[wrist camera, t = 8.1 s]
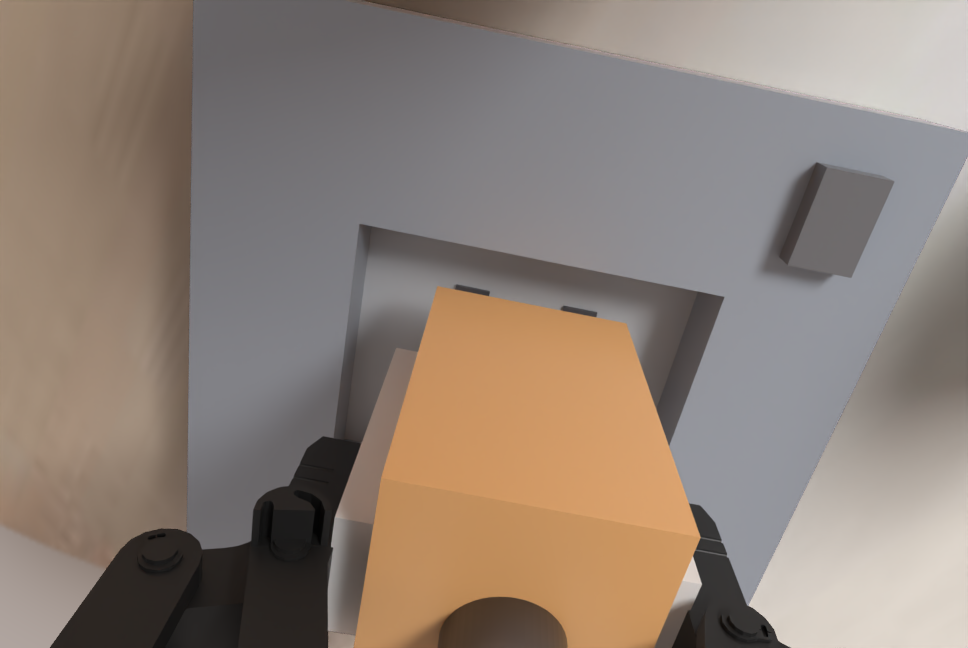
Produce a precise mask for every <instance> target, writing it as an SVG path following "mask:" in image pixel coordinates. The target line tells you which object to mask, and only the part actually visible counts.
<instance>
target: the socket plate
mask: <svg viewBox="0 0 968 648" xmlns="http://www.w3.org/2000/svg"><path fill="white" fill-rule="evenodd" d="M967 157H968V132H966V131H962V130H958V129H955V128H951V127H948V126H944V125H940V124H937V123H933V122H929V121H926V120H922V119H918V118H913V117H908V116H904V115H899V114H894V113H890V112H885V111H880V110H875V109H871V108H866V107H861V106H857V105H852V104H847V103H842V102H838V101H833V100H828V99H824V98H819V97H814V96H809V95H805V94H800V93H795V92H791V91H786V90H781V89H776V88H772V87H767V86H762V85H758V84H753V83H748V82H744V81H739V80H734V79H729V78H725V77H720V76H715V75H711V74H706V73H701V72H696V71H692V70H687V69H682V68H678V67H673V66H668V65H663V64H659V63H654V62H649V61H645V60H640V59H635V58H630V57H626V56H621V55H616V54H612V53H607V52H602V51H598V50H593V49H588V48H583V47H579V46H574V45H569V44H565V43H560V42H555V41H550V40H546V39H541V38H536V37H532V36H527V35H522V34H517V33H513V32H508V31H503V30H499V29H494V28H489V27H485V26H480V25H475V24H470V23H466V22H461V21H456V20H452V19H447V18H442V17H437V16H433V15H428V14H423V13H419V12H414V11H409V10H404V9H400V8H395V7H390V6H386V5H381V4H376V3H371V2H367V1H362V0H193V68H192V149H191V230H190V311H189V392H188V474H187V533H190V534H192V535H193V536H194V537H195V538H196V539H197V540H198V541H199V542H200V545H201V548H202V549H215V548H227V547H234V546H238V545H242V544H245V543H248V542H250V541H251V534H252V519H253V509H254V507H255V504H256V502H257V500H258V499H259V498H260V497H262V496H263V495H264V494H265V493H266V492H268V491H271V490H273V489H276V488H278V487H284V486H289V484H290V482H291V480H292V479H293V477H294V474H295V472H296V470H297V468H298V466H299V465H300V462H301V460H302V457H303V455H304V453H305V451H306V449H307V448H308V447H309V446H310V445H312V444H313V443H314V442H316V441H317V440H318V439H320V438H321V437H322V436H325V437H330V438H335V439H341V440H346V441H351V442H357V443H362V441H363V438H364V435H365V432H366V430H367V427H368V424H369V421H370V419H371V416H372V413H373V410H374V408H375V405H376V402H377V399H378V397H379V394H380V391H381V388H382V386H383V383H384V380H385V377H386V375H387V372H388V369H389V366H390V364H391V361H392V358H393V355H394V352H395V350H396V348H400V349H405V350H411V351H416V352H418V350H419V347H420V344H421V340H422V337H423V333H424V330H425V327H426V323H427V320H428V316H429V313H430V310H431V306H432V303H433V299H434V296H435V293H436V289H437V286H440V287H445V288H450V289H455V290H460V291H465V292H470V293H475V294H480V295H485V296H490V297H495V298H500V299H505V300H510V301H516V302H521V303H526V304H531V305H536V306H541V307H546V308H551V309H556V310H561V311H566V312H571V313H576V314H581V315H586V316H591V317H597V318H602V319H607V320H612V321H617V322H622V323H626V324H627V327H628V330H629V333H630V335H631V338H632V341H633V344H634V347H635V350H636V353H637V356H638V358H639V361H640V364H641V367H642V370H643V373H644V376H645V379H646V381H647V384H648V387H649V390H650V393H651V396H652V399H653V402H654V405H655V407H656V410H657V413H658V416H659V419H660V422H661V425H662V428H663V430H664V433H665V436H666V439H667V442H668V445H669V448H670V451H671V453H672V456H673V459H674V462H675V465H676V468H677V471H678V474H679V477H680V479H681V482H682V485H683V488H684V491H685V494H686V497H687V500H688V502H689V503H690V504H696V505H700V506H701V507H702V508H703V509H704V510H705V511H706V512H707V514H708V515H709V516H710V517H711V518H712V519H713V521H714V522H715V523H716V526H717V529H718V531H719V534H720V536H721V539H722V541H721V543H723V544H724V547H725V549H726V552H727V557H728V558H729V560H730V562H731V565H732V568H733V570H734V573H735V575H736V578H737V580H738V583H739V586H740V588H741V591H742V593H743V596H744V599H745V601H746V604H747V606H748V605H749V603H750V601H751V599H752V597H753V595H754V593H755V591H756V589H757V587H758V585H759V583H760V581H761V579H762V576H763V574H764V572H765V570H766V568H767V566H768V564H769V562H770V560H771V558H772V556H773V554H774V552H775V550H776V548H777V546H778V544H779V542H780V540H781V538H782V536H783V533H784V531H785V529H786V527H787V525H788V523H789V521H790V519H791V517H792V515H793V513H794V511H795V509H796V507H797V505H798V503H799V501H800V499H801V497H802V495H803V493H804V490H805V488H806V486H807V484H808V482H809V480H810V478H811V476H812V474H813V472H814V470H815V468H816V466H817V464H818V462H819V460H820V458H821V456H822V454H823V452H824V450H825V447H826V445H827V443H828V441H829V439H830V437H831V435H832V433H833V431H834V429H835V427H836V425H837V423H838V421H839V419H840V417H841V415H842V413H843V411H844V409H845V406H846V404H847V402H848V400H849V398H850V396H851V394H852V392H853V390H854V388H855V386H856V384H857V382H858V380H859V378H860V376H861V374H862V372H863V370H864V368H865V366H866V363H867V361H868V359H869V357H870V355H871V353H872V351H873V349H874V347H875V345H876V343H877V341H878V339H879V337H880V335H881V333H882V331H883V329H884V327H885V325H886V323H887V320H888V318H889V316H890V314H891V312H892V310H893V308H894V306H895V304H896V302H897V300H898V298H899V296H900V294H901V292H902V290H903V288H904V286H905V284H906V282H907V280H908V277H909V275H910V273H911V271H912V269H913V267H914V265H915V263H916V261H917V259H918V257H919V255H920V253H921V251H922V249H923V247H924V245H925V243H926V241H927V239H928V237H929V234H930V232H931V230H932V228H933V226H934V224H935V222H936V220H937V218H938V216H939V214H940V212H941V210H942V208H943V206H944V204H945V202H946V200H947V198H948V196H949V193H950V191H951V189H952V187H953V185H954V183H955V181H956V179H957V177H958V175H959V173H960V171H961V169H962V167H963V165H964V163H965V161H966V159H967Z"/></svg>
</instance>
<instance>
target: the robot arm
mask: <svg viewBox="0 0 968 648" xmlns="http://www.w3.org/2000/svg"><path fill="white" fill-rule="evenodd" d="M417 354H418V352H416V351H411V350H405V349H400V348H396V350H395V352H394V355H393V358H392V361H391V364H390V366H389V369H388V372H387V375H386V377H385V380H384V383H383V386H382V388H381V391H380V394H379V397H378V399H377V402H376V405H375V408H374V410H373V413H372V416H371V419H370V421H369V424H368V427H367V430H366V432H365V435H364V438H363V441H362V443H357V442H351V441H346V440H341V439H335V438H330V437H325V436H322V437H321V438H320V439H318V440H317V441H316V442H314V443H313V444H312V445H310V446H309V447H308V448H307V449H306V451H305V453H304V455H303V457H302V460H301V462H300V465H299V466H298V468H297V470H296V472H295V474H294V477H293V479H292V480H291V482H290V484H289V486H284V487H278V488H276V489H273V490H271V491H268V492H266V493H265V494H264V495H263V496H262V497H260V498H259V499H258V500H257V502H256V504H255V507H254V509H253V519H252V534H251V541H250V542H248V543H245V544H242V545H238V546H234V547H227V548H215V549H202V548H201V545H200V542H199V541H198V540H197V539H196V538H195V537H194V536H193V535H192V534H190V533H187V532H184V531H181V530H178V529H158V530H153V531H149V532H145V533H143V534H141V535H139V536H137V537H135V538H133V539H131V540H130V541H129V542H128V543H127V544H126V545H125V546H124V547H123V548H122V549H120V551H119V552H118V554H117V555H116V556H115V558H114V559H113V561H112V562H111V563H110V565H109V566H108V568H107V569H106V570H105V572H104V573H103V575H102V576H101V577H100V579H99V580H98V581H97V583H96V584H95V586H94V587H93V588H92V590H91V591H90V593H89V594H88V595H87V597H86V598H85V600H84V601H83V602H82V604H81V605H80V606H79V608H78V609H77V611H76V612H75V613H74V615H73V616H72V618H71V619H70V620H69V622H68V623H67V625H66V626H65V627H64V629H63V630H62V632H61V633H60V634H59V636H58V637H57V639H56V640H55V641H54V643H53V644H52V645H51V647H50V648H328V631H332V632H338V633H344V634H349V635H355V636H356V630H357V624H358V618H359V612H360V605H361V599H362V593H363V587H364V581H365V574H366V568H367V562H368V556H369V550H370V543H371V537H372V531H373V525H374V519H375V512H376V506H377V500H378V494H379V488H380V481H381V476H382V473H383V470H384V466H385V463H386V459H387V456H388V453H389V449H390V446H391V442H392V439H393V436H394V432H395V429H396V425H397V422H398V419H399V415H400V412H401V408H402V405H403V402H404V398H405V395H406V391H407V388H408V385H409V381H410V378H411V374H412V371H413V367H414V364H415V361H416V357H417ZM689 505H690V508H691V511H692V514H693V517H694V520H695V523H696V525H697V528H698V531H699V534H700V537H701V538H700V540H699V543H698V545H697V547H696V550H695V552H694V554H693V557H692V559H691V561H690V564H689V566H688V569H687V571H686V573H685V576H684V578H683V580H682V583H681V585H680V588H679V590H678V592H677V595H676V597H675V599H674V602H673V604H672V606H671V609H670V611H669V614H668V616H667V618H666V621H665V623H664V625H663V628H662V630H661V633H660V635H659V637H658V640H657V642H656V644H655V647H654V648H790V647H788V646H786V645H784V644H782V643H780V642H779V641H778V640H777V637H776V634H775V631H774V629H773V628H772V626H771V625H770V624H769V622H768V621H767V620H766V619H765V618H764V617H763V616H762V615H761V614H759V613H758V612H757V611H756V610H754V609H753V608H751V607H749V606H747V604H746V601H745V599H744V596H743V593H742V591H741V588H740V586H739V583H738V580H737V578H736V575H735V573H734V570H733V568H732V565H731V562H730V560H729V558H728V557H727V552H726V549H725V547H724V544H723V543H721V541H722V539H721V536H720V534H719V531H718V529H717V526H716V523H715V522H714V521H713V519H712V518H711V517H710V516H709V515H708V514H707V512H706V511H705V510H704V509H703V508H702V507H701V506H700V505H696V504H690V503H689Z"/></svg>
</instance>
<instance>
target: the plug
mask: <svg viewBox="0 0 968 648" xmlns="http://www.w3.org/2000/svg"><path fill="white" fill-rule="evenodd" d="M700 538H701V537H700V534H699V531H698V528H697V525H696V523H695V520H694V517H693V514H692V511H691V508H690V505H689V502H688V500H687V497H686V494H685V491H684V488H683V485H682V482H681V479H680V477H679V474H678V471H677V468H676V465H675V462H674V459H673V456H672V453H671V451H670V448H669V445H668V442H667V439H666V436H665V433H664V430H663V428H662V425H661V422H660V419H659V416H658V413H657V410H656V407H655V405H654V402H653V399H652V396H651V393H650V390H649V387H648V384H647V381H646V379H645V376H644V373H643V370H642V367H641V364H640V361H639V358H638V356H637V353H636V350H635V347H634V344H633V341H632V338H631V335H630V333H629V330H628V327H627V324H626V323H622V322H617V321H612V320H607V319H602V318H597V317H591V316H586V315H581V314H576V313H571V312H566V311H561V310H556V309H551V308H546V307H541V306H536V305H531V304H526V303H521V302H516V301H510V300H505V299H500V298H495V297H490V296H485V295H480V294H475V293H470V292H465V291H460V290H455V289H450V288H445V287H440V286H437V289H436V293H435V296H434V299H433V303H432V306H431V310H430V313H429V316H428V320H427V323H426V327H425V330H424V333H423V337H422V340H421V344H420V347H419V350H418V354H417V357H416V361H415V364H414V367H413V371H412V374H411V378H410V381H409V385H408V388H407V391H406V395H405V398H404V402H403V405H402V408H401V412H400V415H399V419H398V422H397V425H396V429H395V432H394V436H393V439H392V442H391V446H390V449H389V453H388V456H387V459H386V463H385V466H384V470H383V473H382V476H381V481H380V488H379V494H378V500H377V506H376V512H375V519H374V525H373V531H372V537H371V543H370V550H369V556H368V562H367V568H366V574H365V581H364V587H363V593H362V599H361V605H360V612H359V618H358V624H357V630H356V636H355V643H354V648H654V647H655V644H656V642H657V640H658V637H659V635H660V633H661V630H662V628H663V625H664V623H665V621H666V618H667V616H668V614H669V611H670V609H671V606H672V604H673V602H674V599H675V597H676V595H677V592H678V590H679V588H680V585H681V583H682V580H683V578H684V576H685V573H686V571H687V569H688V566H689V564H690V561H691V559H692V557H693V554H694V552H695V550H696V547H697V545H698V543H699V540H700Z"/></svg>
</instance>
